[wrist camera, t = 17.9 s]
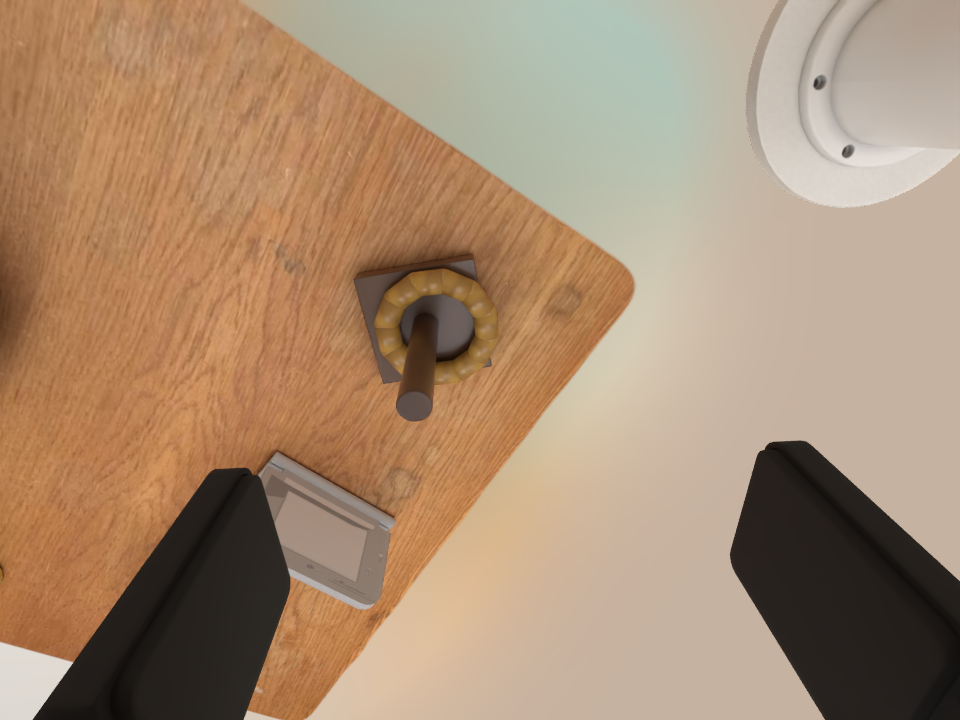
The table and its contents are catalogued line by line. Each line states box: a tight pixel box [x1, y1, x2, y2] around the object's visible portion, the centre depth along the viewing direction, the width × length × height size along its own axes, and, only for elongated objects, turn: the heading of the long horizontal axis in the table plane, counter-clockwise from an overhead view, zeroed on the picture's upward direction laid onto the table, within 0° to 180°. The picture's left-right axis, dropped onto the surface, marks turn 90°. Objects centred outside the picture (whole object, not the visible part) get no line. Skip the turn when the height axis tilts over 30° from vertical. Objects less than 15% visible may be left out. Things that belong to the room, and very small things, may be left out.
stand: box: [354, 254, 491, 421], centre depth 32 cm, size 9×9×14 cm
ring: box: [374, 269, 499, 385], centre depth 36 cm, size 9×9×2 cm
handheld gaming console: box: [258, 452, 396, 609], centre depth 42 cm, size 13×9×10 cm
